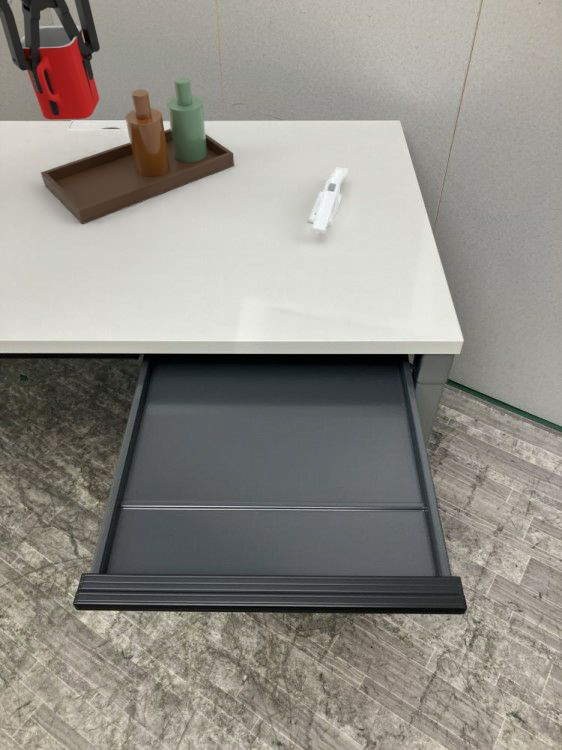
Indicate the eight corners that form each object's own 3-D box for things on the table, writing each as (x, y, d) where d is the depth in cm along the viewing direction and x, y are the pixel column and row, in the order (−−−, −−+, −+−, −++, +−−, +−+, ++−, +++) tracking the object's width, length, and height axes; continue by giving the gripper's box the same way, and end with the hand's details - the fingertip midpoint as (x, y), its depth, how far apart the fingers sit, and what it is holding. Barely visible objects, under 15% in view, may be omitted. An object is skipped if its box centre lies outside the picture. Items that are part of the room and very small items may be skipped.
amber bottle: (146, 180, 109) (132, 104, 98) (129, 166, 112) (114, 91, 102) (176, 169, 111) (165, 94, 101) (158, 156, 115) (146, 81, 104)
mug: (54, 96, 98) (31, 26, 90) (103, 95, 98) (84, 24, 89) (32, 133, 90) (4, 60, 82) (85, 132, 90) (62, 58, 82)
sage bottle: (185, 166, 112) (176, 91, 102) (168, 152, 116) (157, 78, 105) (213, 155, 115) (207, 81, 104) (195, 142, 118) (187, 69, 108)
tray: (82, 224, 101) (78, 211, 99) (44, 185, 109) (40, 172, 107) (234, 165, 114) (233, 153, 112) (190, 134, 122) (189, 122, 120)
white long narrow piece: (300, 240, 98) (301, 212, 94) (326, 179, 111) (328, 151, 107) (324, 244, 97) (326, 216, 93) (347, 182, 110) (350, 154, 106)
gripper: (-39, -57, 70) (24, 132, 88) (101, -79, 78) (133, 99, 95) (-59, -70, 74) (5, 114, 92) (77, -90, 82) (112, 83, 99)
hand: (71, 106), depth 93 cm, fingers open, 5 cm apart
